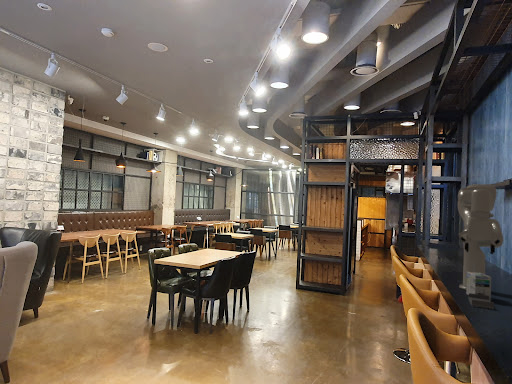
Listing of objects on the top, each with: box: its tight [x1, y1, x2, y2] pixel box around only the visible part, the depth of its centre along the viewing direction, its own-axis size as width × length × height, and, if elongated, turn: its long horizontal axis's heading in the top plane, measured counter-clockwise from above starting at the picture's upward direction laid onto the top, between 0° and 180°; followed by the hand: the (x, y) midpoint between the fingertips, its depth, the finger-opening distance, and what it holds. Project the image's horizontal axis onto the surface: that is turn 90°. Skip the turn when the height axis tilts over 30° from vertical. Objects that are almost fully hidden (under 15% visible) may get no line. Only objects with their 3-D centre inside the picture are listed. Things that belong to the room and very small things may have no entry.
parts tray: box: [468, 293, 495, 310], centre depth 150 cm, size 15×8×3 cm, turn 153°
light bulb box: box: [466, 272, 492, 302], centre depth 163 cm, size 11×7×11 cm, turn 168°
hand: (479, 252), depth 163 cm, fingers open, 9 cm apart
